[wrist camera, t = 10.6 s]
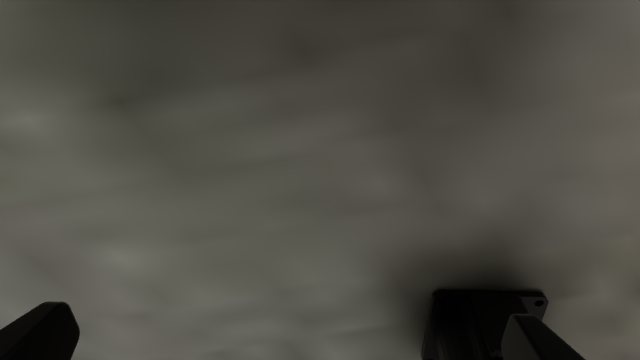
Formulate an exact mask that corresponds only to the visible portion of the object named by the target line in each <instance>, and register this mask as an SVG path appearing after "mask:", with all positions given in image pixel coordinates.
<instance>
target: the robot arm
mask: <svg viewBox="0 0 640 360" xmlns="http://www.w3.org/2000/svg"><path fill="white" fill-rule="evenodd" d="M440 298H443V299H440ZM547 305H548V300H547V298H546V296H545V295H544V294H543V293H542V292H521V291H481V290H437V291H435V292H434V293H433V295H432V300H431V306H430V311H429V317H428V322H427V328H426V333H425V338H424V344H423V349H422V355H421V357H422V360H585V359H584V358H583V357H582V356H581V355H580V354H579V353H577V352H576V351H575V350H574V349H573V348H572V347H571V346H569V345H568V344H567V343H566V342H565V341H564V340H563V339H561V338H560V337H559V336H558V335H557V334H556V333H555V332H553V331H552V330H551V329H550V328H549V327H548V326H547V325H545V324H544V323H543V322H542V318H543V315H544V313H545V310H546V308H547ZM79 335H80V330H79V326H78V324H77V322H76V319H75V317H74V315H73V313H72V311H71V308H70V306H69V305H68V304H67V303H65V302H44V303H42V304H40V305H39V306H37V307H35V308H34V309H32V310H31V311H29V312H28V313H26V314H24V315H23V316H21V317H20V318H18V319H17V320H15V321H13V322H12V323H10V324H9V325H7V326H6V327H4V328H2V329H1V330H0V360H71V357H72V355H73V352H74V350H75V348H76V345H77V343H78V340H79Z"/></svg>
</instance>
